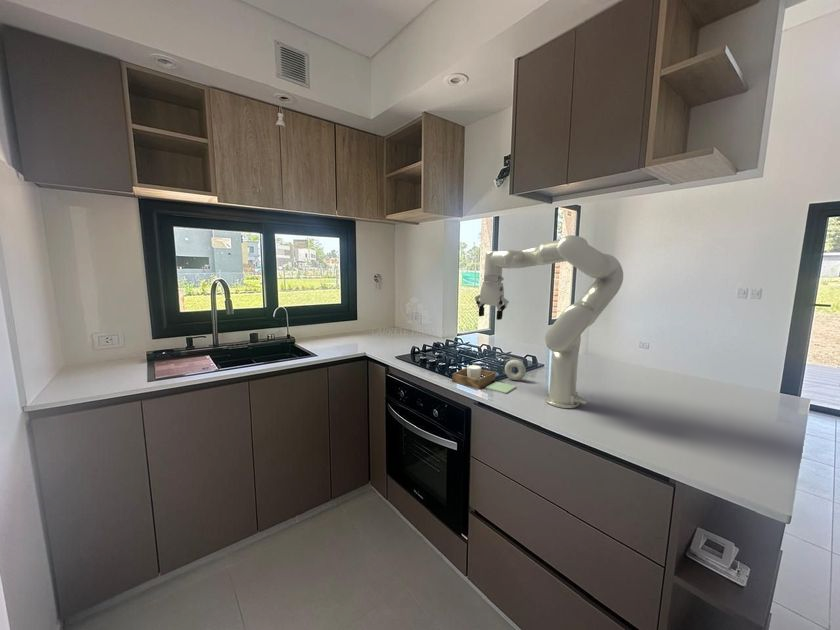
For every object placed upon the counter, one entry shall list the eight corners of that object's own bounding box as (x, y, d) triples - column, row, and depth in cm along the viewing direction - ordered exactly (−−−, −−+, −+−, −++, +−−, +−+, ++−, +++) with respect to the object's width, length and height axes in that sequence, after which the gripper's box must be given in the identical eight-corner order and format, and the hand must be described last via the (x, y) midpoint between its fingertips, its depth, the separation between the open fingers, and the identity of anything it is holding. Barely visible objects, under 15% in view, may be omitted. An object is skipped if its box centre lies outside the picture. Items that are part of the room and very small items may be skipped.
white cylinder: (471, 378, 164) (471, 364, 163) (483, 380, 160) (484, 366, 159) (463, 381, 159) (463, 367, 158) (476, 384, 154) (476, 370, 153)
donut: (526, 380, 159) (527, 360, 158) (524, 383, 156) (525, 362, 155) (505, 377, 165) (506, 357, 163) (503, 379, 162) (503, 359, 160)
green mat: (516, 387, 151) (516, 386, 151) (506, 393, 143) (506, 392, 143) (496, 382, 157) (496, 381, 157) (485, 388, 150) (485, 387, 149)
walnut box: (495, 380, 160) (495, 372, 159) (479, 389, 149) (479, 380, 148) (468, 374, 169) (469, 366, 169) (452, 381, 158) (452, 373, 158)
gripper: (514, 280, 144) (511, 320, 147) (482, 277, 156) (479, 314, 159) (504, 280, 139) (501, 321, 142) (471, 278, 151) (469, 315, 154)
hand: (489, 317), depth 150 cm, fingers open, 9 cm apart
